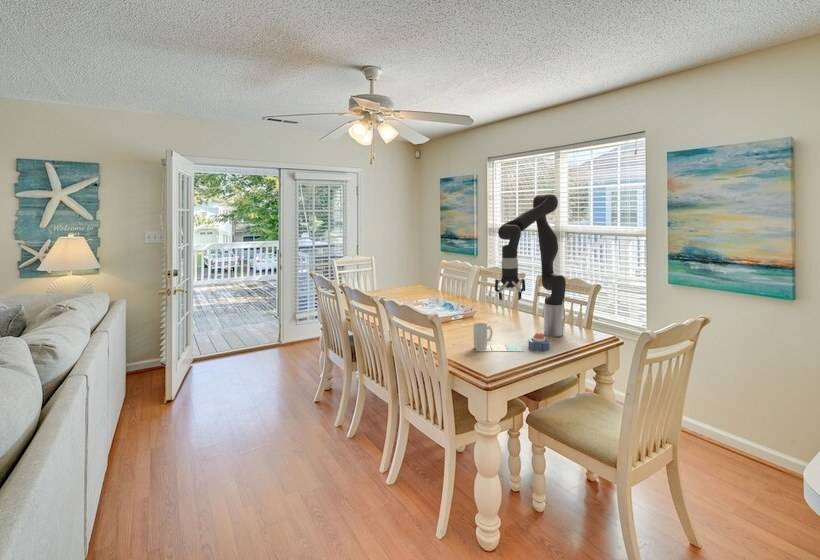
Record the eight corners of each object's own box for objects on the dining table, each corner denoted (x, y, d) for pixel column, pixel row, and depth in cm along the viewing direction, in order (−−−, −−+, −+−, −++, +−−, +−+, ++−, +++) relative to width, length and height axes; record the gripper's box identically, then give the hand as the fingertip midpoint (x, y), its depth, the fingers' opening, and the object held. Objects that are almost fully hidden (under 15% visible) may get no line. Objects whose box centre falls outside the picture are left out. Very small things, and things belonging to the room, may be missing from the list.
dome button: (539, 340, 212) (539, 330, 211) (548, 343, 206) (548, 333, 206) (530, 341, 209) (530, 332, 208) (538, 345, 204) (538, 335, 203)
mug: (477, 351, 206) (477, 327, 204) (471, 347, 212) (471, 323, 210) (495, 348, 209) (495, 324, 207) (488, 344, 215) (488, 321, 213)
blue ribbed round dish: (539, 343, 215) (539, 336, 214) (553, 349, 206) (553, 341, 205) (524, 346, 210) (524, 339, 210) (538, 352, 202) (538, 344, 201)
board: (519, 344, 214) (519, 344, 214) (523, 351, 204) (523, 351, 203) (474, 344, 216) (474, 344, 216) (476, 351, 205) (476, 351, 205)
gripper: (524, 265, 205) (524, 297, 208) (494, 266, 207) (494, 298, 210) (526, 267, 198) (526, 301, 201) (495, 268, 200) (495, 301, 203)
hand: (510, 299), depth 205 cm, fingers open, 8 cm apart
